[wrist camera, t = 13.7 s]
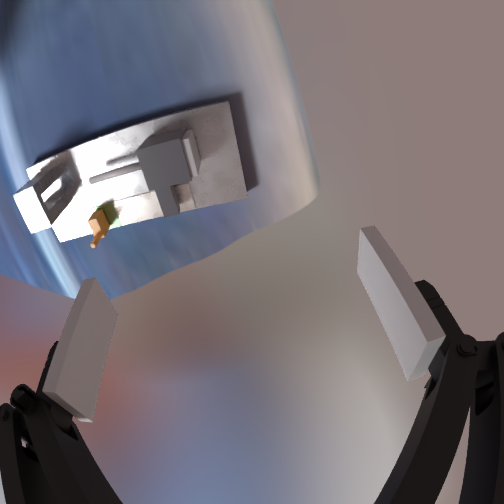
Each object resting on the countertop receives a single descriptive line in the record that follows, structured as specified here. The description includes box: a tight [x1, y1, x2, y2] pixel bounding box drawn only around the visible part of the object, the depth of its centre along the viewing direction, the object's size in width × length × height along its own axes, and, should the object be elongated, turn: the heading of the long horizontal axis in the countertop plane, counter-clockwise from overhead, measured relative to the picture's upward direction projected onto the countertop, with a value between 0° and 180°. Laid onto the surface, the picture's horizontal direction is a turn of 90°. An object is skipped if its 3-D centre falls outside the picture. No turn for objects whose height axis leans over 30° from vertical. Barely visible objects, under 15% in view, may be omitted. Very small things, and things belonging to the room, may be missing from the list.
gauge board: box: [13, 100, 248, 242], centre depth 34 cm, size 30×13×8 cm, turn 99°
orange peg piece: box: [87, 209, 110, 248], centre depth 36 cm, size 2×3×5 cm, turn 9°
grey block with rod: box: [89, 128, 201, 217], centre depth 34 cm, size 14×10×5 cm
